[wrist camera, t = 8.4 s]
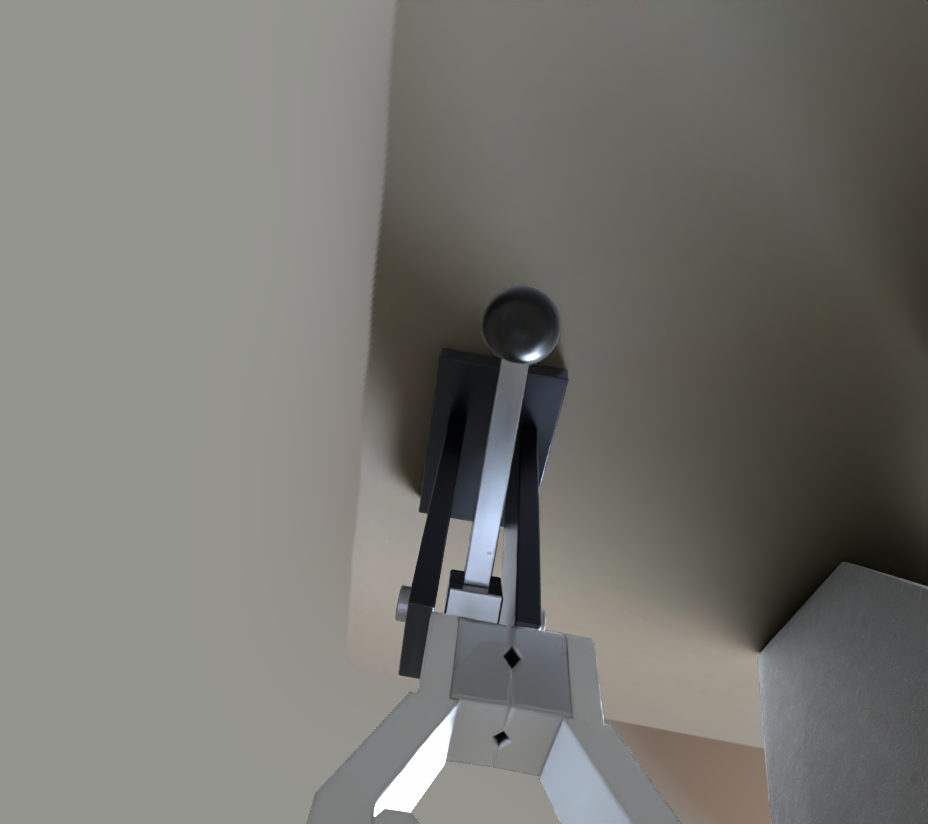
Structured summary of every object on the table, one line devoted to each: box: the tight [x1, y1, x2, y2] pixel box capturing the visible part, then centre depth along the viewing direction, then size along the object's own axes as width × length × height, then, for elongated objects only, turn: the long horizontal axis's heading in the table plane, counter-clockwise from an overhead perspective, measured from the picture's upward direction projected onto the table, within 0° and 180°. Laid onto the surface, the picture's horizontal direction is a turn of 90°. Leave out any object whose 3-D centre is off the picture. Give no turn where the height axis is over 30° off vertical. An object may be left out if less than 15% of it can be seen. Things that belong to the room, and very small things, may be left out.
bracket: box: [395, 349, 569, 679], centre depth 29 cm, size 11×7×15 cm, turn 172°
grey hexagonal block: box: [758, 562, 928, 824], centre depth 33 cm, size 17×8×21 cm
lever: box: [443, 285, 561, 624], centre depth 24 cm, size 15×3×3 cm, turn 172°
